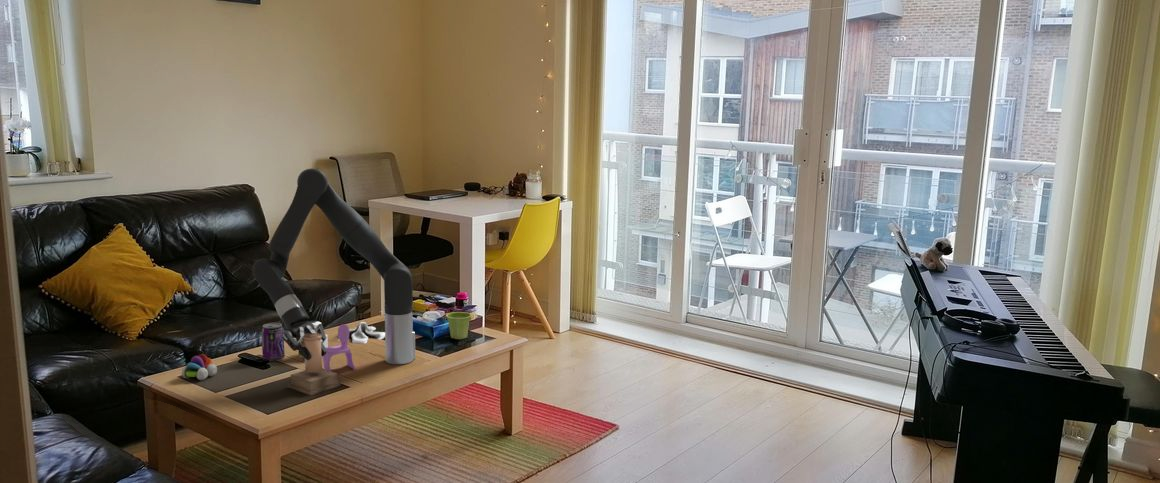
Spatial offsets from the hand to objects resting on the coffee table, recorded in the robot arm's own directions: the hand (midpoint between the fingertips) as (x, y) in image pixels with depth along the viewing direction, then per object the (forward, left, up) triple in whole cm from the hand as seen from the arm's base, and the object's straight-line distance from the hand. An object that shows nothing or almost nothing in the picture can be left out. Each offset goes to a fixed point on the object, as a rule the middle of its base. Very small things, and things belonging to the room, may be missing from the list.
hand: (316, 356), depth 265 cm
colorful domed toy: (+17, -37, -10) cm, 42 cm away
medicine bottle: (-19, -28, -10) cm, 35 cm away
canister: (0, -2, -5) cm, 5 cm away
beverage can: (-8, -35, -10) cm, 37 cm away
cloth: (-44, -34, -11) cm, 57 cm away
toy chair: (-15, -9, -10) cm, 20 cm away
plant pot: (-67, -5, -10) cm, 68 cm away
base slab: (0, -2, -10) cm, 10 cm away
